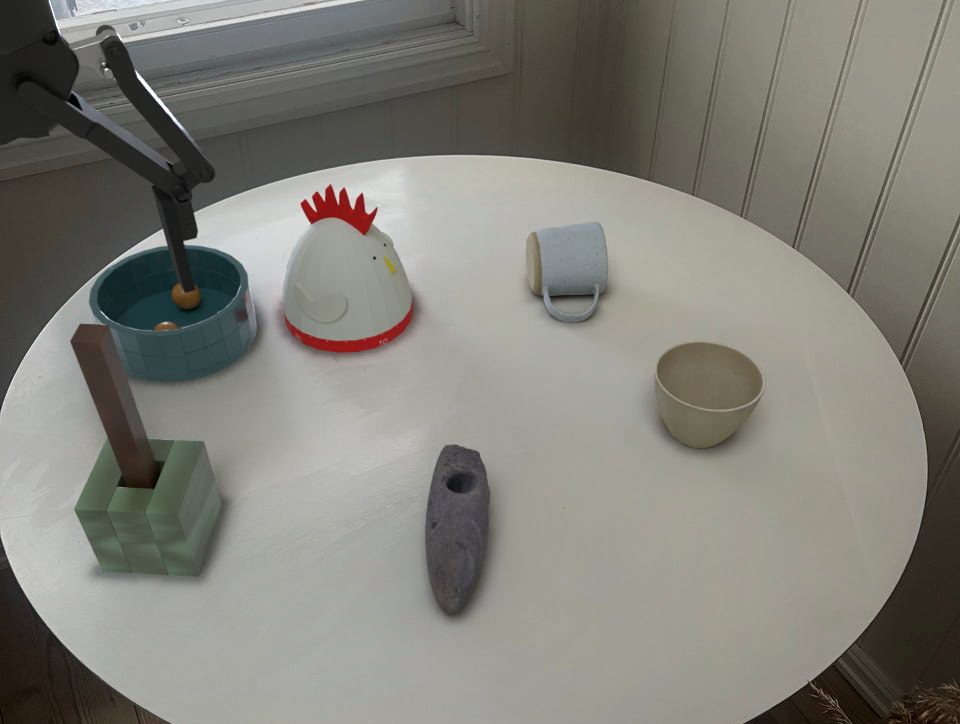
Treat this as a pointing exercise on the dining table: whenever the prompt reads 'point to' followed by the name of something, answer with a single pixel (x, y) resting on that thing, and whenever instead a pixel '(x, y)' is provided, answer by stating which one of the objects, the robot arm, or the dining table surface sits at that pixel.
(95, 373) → the stick
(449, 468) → the perforated stone tool
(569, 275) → the ceramic mug
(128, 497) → the holder
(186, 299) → the bead
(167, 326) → the bead
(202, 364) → the bowl
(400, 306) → the kitchen timer
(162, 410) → the dining table surface
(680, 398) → the small beige bowl
